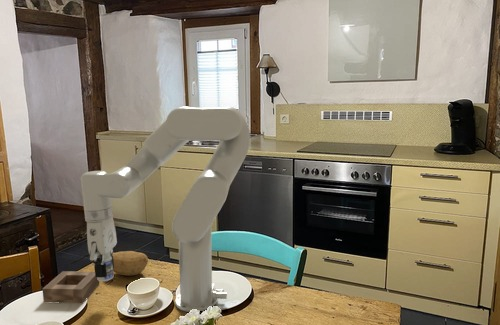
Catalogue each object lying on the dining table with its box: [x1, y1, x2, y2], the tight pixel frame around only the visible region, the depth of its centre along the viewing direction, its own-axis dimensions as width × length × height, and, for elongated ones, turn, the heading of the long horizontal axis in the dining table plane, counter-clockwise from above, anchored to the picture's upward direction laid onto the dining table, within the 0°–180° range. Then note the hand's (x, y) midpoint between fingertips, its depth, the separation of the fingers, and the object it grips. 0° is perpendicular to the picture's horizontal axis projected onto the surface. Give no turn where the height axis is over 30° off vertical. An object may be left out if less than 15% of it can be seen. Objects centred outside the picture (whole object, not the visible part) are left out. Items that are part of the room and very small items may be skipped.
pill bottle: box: [97, 251, 115, 282], centre depth 118 cm, size 5×5×8 cm
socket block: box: [42, 270, 100, 304], centre depth 125 cm, size 12×12×4 cm
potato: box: [111, 250, 149, 277], centre depth 138 cm, size 10×14×8 cm
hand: (105, 271), depth 118 cm, fingers closed on pill bottle, 4 cm apart
